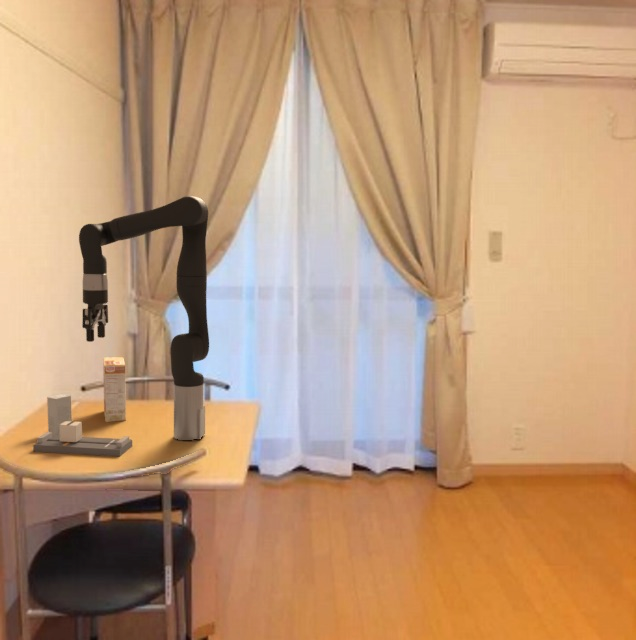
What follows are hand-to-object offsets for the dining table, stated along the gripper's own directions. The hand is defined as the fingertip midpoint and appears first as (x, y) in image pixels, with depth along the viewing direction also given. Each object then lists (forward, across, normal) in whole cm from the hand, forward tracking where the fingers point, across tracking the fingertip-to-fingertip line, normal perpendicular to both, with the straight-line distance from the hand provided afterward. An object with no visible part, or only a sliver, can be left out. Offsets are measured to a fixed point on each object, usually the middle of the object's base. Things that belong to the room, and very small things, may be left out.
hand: (95, 339), depth 223 cm
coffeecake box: (+30, +20, +2) cm, 36 cm away
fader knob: (+28, -17, +1) cm, 32 cm away
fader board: (+30, -17, -3) cm, 35 cm away
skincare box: (+30, -3, +11) cm, 32 cm away
